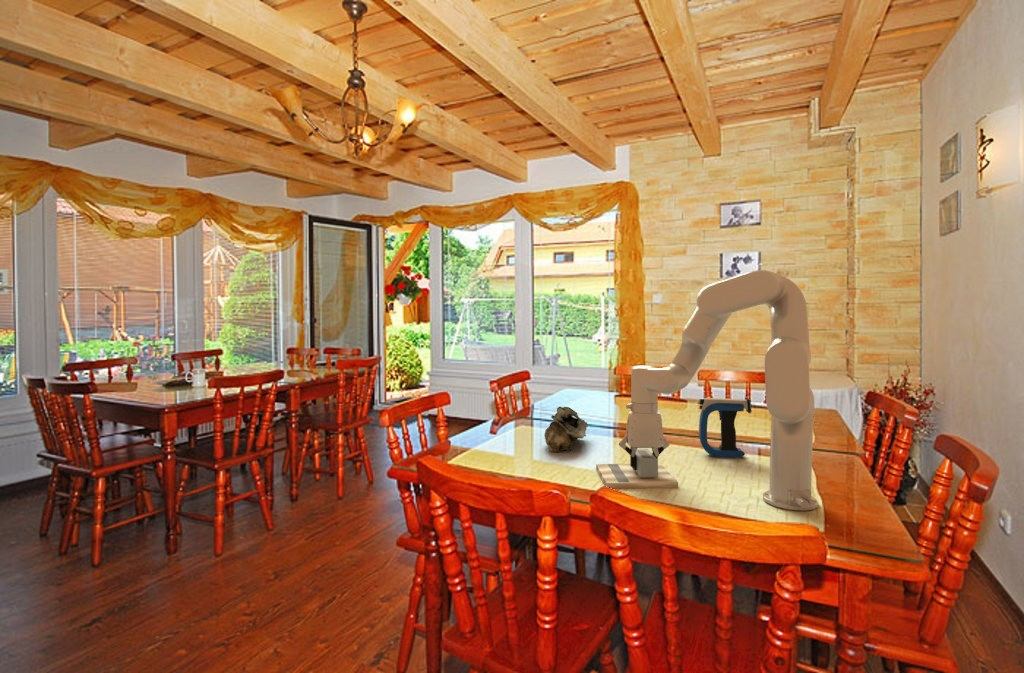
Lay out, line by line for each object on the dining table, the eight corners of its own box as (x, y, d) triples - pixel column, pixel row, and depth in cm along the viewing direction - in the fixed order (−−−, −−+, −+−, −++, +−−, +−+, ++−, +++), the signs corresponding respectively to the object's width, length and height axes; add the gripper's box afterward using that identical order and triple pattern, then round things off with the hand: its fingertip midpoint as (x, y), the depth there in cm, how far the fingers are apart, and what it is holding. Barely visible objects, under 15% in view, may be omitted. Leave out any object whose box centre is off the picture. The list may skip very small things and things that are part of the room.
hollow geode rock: (573, 447, 213) (547, 418, 217) (596, 426, 210) (570, 397, 213) (553, 465, 187) (524, 431, 190) (579, 441, 184) (550, 408, 187)
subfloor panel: (678, 487, 152) (678, 481, 152) (606, 488, 152) (606, 482, 152) (660, 468, 170) (660, 463, 170) (596, 468, 170) (596, 463, 170)
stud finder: (657, 477, 155) (658, 459, 154) (640, 477, 155) (640, 459, 154) (647, 464, 167) (647, 448, 166) (631, 464, 167) (631, 448, 166)
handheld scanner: (751, 459, 179) (752, 399, 178) (700, 456, 182) (700, 398, 181) (748, 455, 183) (749, 397, 182) (698, 453, 186) (698, 396, 186)
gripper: (617, 410, 156) (617, 473, 157) (677, 410, 156) (676, 472, 157) (612, 405, 163) (612, 465, 164) (669, 405, 163) (669, 465, 164)
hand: (643, 468), depth 161 cm, fingers closed on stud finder, 5 cm apart
